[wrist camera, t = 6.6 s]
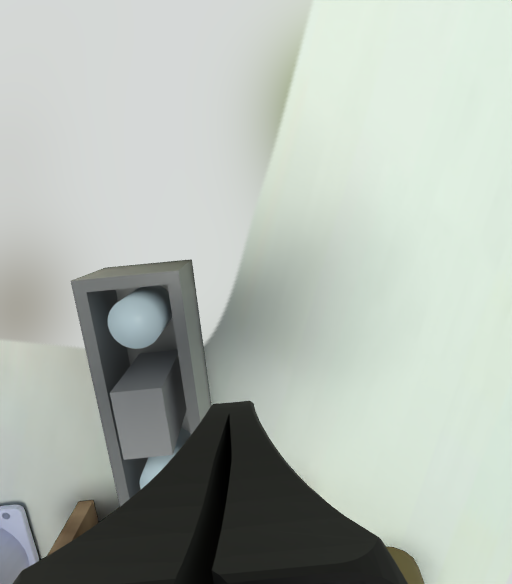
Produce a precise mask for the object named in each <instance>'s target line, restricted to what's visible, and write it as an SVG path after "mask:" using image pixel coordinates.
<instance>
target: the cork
mask: <svg viewBox="0 0 512 584" xmlns="http://www.w3.org/2000/svg"><path fill="white" fill-rule="evenodd" d="M386 548H387V549H388V551H389V553H390V554H391V556H392V557H393V559H394V560H395V562H396V564H397V565H398V567H399V569H400V571H401V572H402V574H403V576H404V578H405V579H406V581H407V583H408V584H424V581H423V579H422V576H421V573H420V570H419V567H418V565H417V564H416V562H415V560H414V559H413V557H411V556H410V555H409V554H407V553H406V552H405V551H402V550H399V549H397V548H394V547H386Z"/></svg>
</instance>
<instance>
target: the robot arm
mask: <svg viewBox="0 0 512 584" xmlns="http://www.w3.org/2000/svg"><path fill="white" fill-rule="evenodd" d="M0 584H408V583H407V581H406V579H405V578H404V576H403V574H402V572H401V571H400V569H399V567H398V565H397V564H396V562H395V560H394V559H393V557H392V556H391V554H390V553H389V551H388V549H387V548H386V546H385V545H384V543H383V542H382V540H381V539H380V538H379V537H377V536H376V535H374V534H373V533H371V532H369V531H368V530H366V529H365V528H363V527H361V526H360V525H358V524H357V523H355V522H353V521H352V520H350V519H349V518H347V517H346V516H344V515H343V514H341V513H340V512H339V511H337V510H336V509H335V508H333V507H332V506H331V505H330V504H328V503H327V502H326V501H325V500H324V499H323V498H322V497H320V496H319V495H318V494H317V493H316V492H315V491H314V490H312V489H311V488H310V487H309V486H308V485H307V484H306V483H305V482H304V481H303V480H302V479H301V478H300V477H299V476H298V475H297V474H296V473H295V471H294V470H293V469H292V468H291V467H290V466H289V465H288V463H287V462H286V461H285V460H284V458H283V457H282V456H281V455H280V453H279V452H278V450H277V449H276V448H275V446H274V445H273V443H272V442H271V440H270V439H269V437H268V435H267V434H266V432H265V430H264V429H263V427H262V425H261V423H260V421H259V419H258V417H257V414H256V412H255V408H254V404H253V403H252V402H251V401H244V402H233V403H222V404H213V405H212V406H211V407H210V408H209V410H208V411H207V413H206V415H205V416H204V418H203V419H202V420H201V422H200V423H199V425H198V426H197V428H196V429H195V430H194V432H193V433H192V434H191V436H190V437H189V438H188V440H187V441H186V442H185V444H184V445H183V446H182V447H181V448H180V450H179V451H178V452H177V453H176V454H175V455H174V457H173V458H172V459H171V460H170V461H169V462H168V464H167V465H166V466H165V467H164V468H163V469H162V470H161V471H160V472H159V473H158V474H157V475H156V476H155V477H154V478H153V479H152V480H151V481H150V482H149V483H148V484H147V485H146V486H144V487H143V488H142V489H141V490H140V491H139V492H137V493H136V494H135V495H134V496H133V497H131V498H130V499H129V500H128V501H126V502H125V503H124V504H123V505H122V506H120V507H119V508H118V509H117V510H115V511H114V512H113V513H112V514H110V515H109V516H107V517H106V518H105V519H103V520H102V521H101V522H99V523H98V524H96V525H95V526H93V527H92V528H91V529H89V530H88V531H86V532H85V533H83V534H82V535H80V536H79V537H77V538H76V539H74V540H73V541H71V542H70V543H68V544H66V545H65V546H63V547H61V548H60V549H58V550H56V551H55V552H53V553H51V554H50V555H48V556H46V557H45V558H43V559H41V560H40V561H39V557H38V554H37V550H36V547H35V544H34V540H33V537H32V533H31V530H30V527H29V523H28V520H27V516H26V513H25V510H24V508H23V507H22V506H21V505H6V506H0Z"/></svg>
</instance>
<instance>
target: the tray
mask: <svg viewBox="0 0 512 584" xmlns="http://www.w3.org/2000/svg"><path fill="white" fill-rule="evenodd" d="M71 285H72V289H73V294H74V298H75V303H76V308H77V312H78V317H79V321H80V326H81V330H82V335H83V340H84V344H85V349H86V353H87V358H88V363H89V367H90V372H91V376H92V381H93V385H94V390H95V395H96V399H97V404H98V408H99V413H100V417H101V422H102V427H103V431H104V436H105V440H106V445H107V450H108V454H109V459H110V463H111V468H112V472H113V477H114V482H115V486H116V491H117V495H118V500H119V505H120V506H122V505H123V504H124V503H125V502H126V501H128V500H129V499H130V498H131V497H133V496H134V495H135V494H136V493H137V492H139V491H140V490H141V489H142V488H143V487H144V486H146V485H147V484H148V483H149V482H150V481H151V480H152V479H153V478H154V477H155V476H156V475H157V474H158V473H159V472H160V471H161V470H162V469H163V468H164V467H165V466H166V465H167V464H168V462H169V461H170V460H171V459H172V458H173V457H174V455H175V454H176V453H177V452H178V451H179V450H180V448H181V447H182V446H183V445H184V444H185V442H186V441H187V440H188V438H189V437H190V436H191V434H192V433H193V432H194V430H195V429H196V428H197V426H198V425H199V423H200V422H201V420H202V419H203V418H204V416H205V415H206V413H207V411H208V410H209V408H210V407H211V399H210V392H209V384H208V377H207V370H206V362H205V355H204V347H203V340H202V334H201V325H200V318H199V310H198V303H197V296H196V288H195V282H194V273H193V266H192V260H182V261H171V262H162V263H151V264H140V265H129V266H119V267H108V268H103V269H101V270H98V271H96V272H93V273H90V274H88V275H85V276H82V277H80V278H77V279H75V280H72V281H71Z"/></svg>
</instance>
